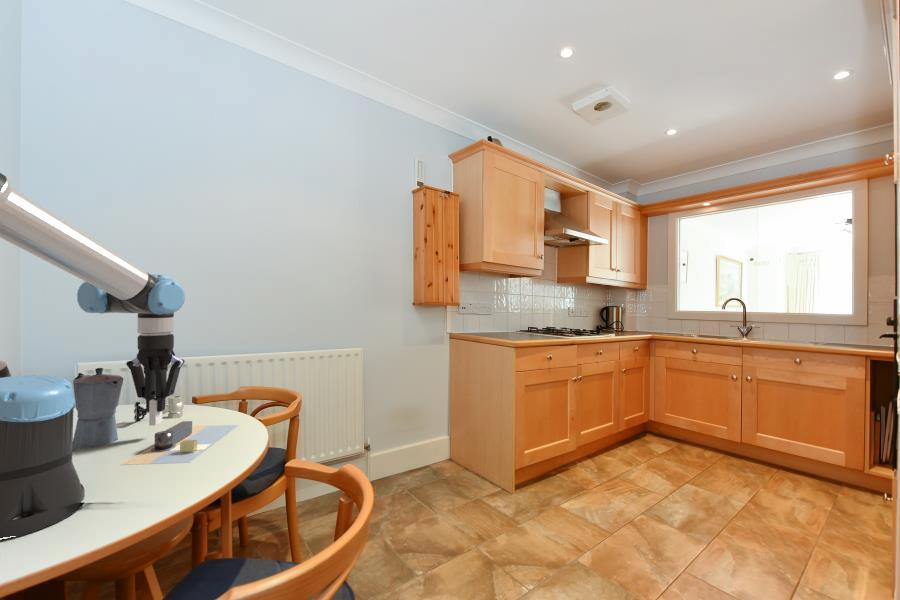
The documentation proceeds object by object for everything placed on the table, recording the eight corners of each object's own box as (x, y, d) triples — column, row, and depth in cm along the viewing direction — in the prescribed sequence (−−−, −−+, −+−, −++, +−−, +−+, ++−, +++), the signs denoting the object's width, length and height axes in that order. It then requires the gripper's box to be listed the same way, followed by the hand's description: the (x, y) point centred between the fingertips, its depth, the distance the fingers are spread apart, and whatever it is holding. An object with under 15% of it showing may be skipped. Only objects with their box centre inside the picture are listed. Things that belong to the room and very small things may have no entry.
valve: (181, 414, 125) (133, 421, 116) (181, 393, 125) (134, 400, 116) (185, 418, 120) (136, 427, 111) (185, 397, 120) (136, 404, 111)
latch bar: (167, 449, 91) (167, 435, 91) (150, 450, 90) (151, 435, 90) (194, 432, 102) (194, 420, 102) (179, 433, 102) (180, 420, 102)
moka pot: (96, 457, 90) (98, 372, 90) (46, 451, 93) (48, 369, 93) (137, 442, 99) (138, 366, 99) (90, 437, 102) (92, 363, 102)
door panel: (189, 467, 85) (189, 461, 85) (120, 470, 83) (120, 463, 83) (239, 429, 110) (239, 424, 110) (187, 430, 109) (187, 425, 109)
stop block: (193, 452, 90) (193, 442, 90) (179, 453, 90) (180, 442, 90) (197, 450, 92) (197, 439, 92) (183, 450, 91) (184, 440, 91)
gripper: (190, 332, 104) (190, 418, 104) (138, 332, 102) (138, 419, 102) (174, 335, 96) (174, 427, 96) (118, 335, 95) (117, 429, 95)
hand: (155, 423), depth 99 cm, fingers closed
